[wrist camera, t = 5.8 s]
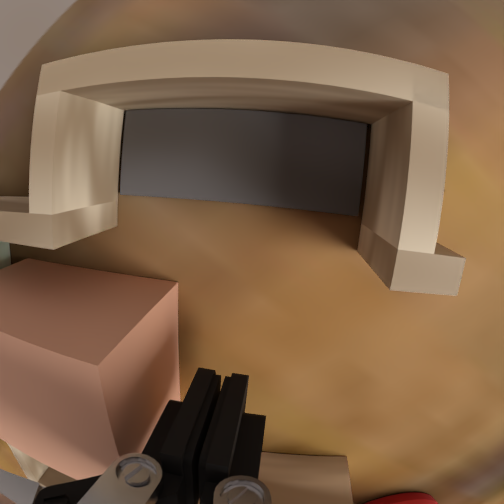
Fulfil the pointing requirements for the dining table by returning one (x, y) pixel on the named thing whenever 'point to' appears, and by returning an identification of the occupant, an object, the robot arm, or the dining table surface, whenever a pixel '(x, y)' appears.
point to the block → (84, 363)
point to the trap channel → (245, 166)
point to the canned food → (405, 499)
